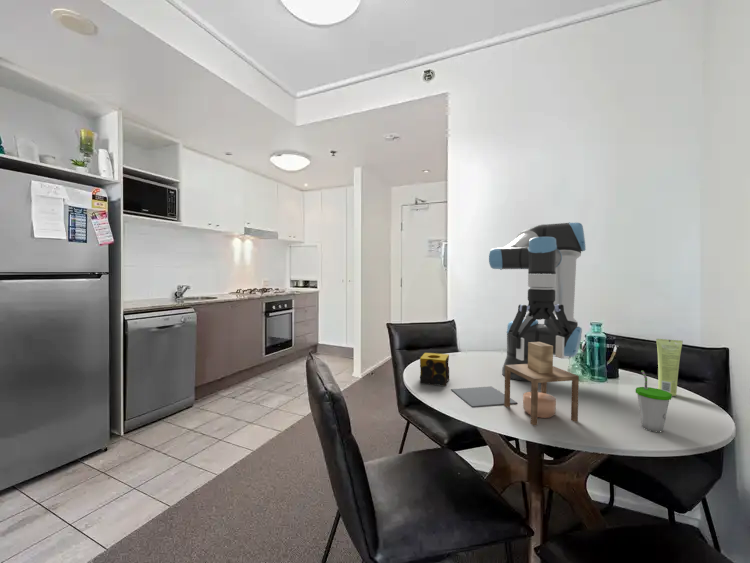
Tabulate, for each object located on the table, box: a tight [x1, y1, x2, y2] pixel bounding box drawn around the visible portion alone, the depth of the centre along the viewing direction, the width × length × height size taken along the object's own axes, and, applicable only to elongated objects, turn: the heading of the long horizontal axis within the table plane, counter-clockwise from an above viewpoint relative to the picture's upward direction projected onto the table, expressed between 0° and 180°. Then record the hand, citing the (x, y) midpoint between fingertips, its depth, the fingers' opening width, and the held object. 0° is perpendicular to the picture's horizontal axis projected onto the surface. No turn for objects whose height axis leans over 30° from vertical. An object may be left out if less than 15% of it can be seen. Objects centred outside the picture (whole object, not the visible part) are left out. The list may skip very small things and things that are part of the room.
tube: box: [655, 338, 683, 397], centre depth 122 cm, size 6×5×20 cm
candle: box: [419, 352, 450, 387], centre depth 135 cm, size 10×10×10 cm
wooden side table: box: [504, 342, 580, 426], centre depth 104 cm, size 14×14×21 cm
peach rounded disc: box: [522, 391, 557, 419], centre depth 105 cm, size 9×9×5 cm
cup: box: [635, 370, 673, 433], centre depth 95 cm, size 8×8×15 cm
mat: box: [450, 386, 518, 408], centre depth 118 cm, size 16×16×1 cm
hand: (540, 358), depth 104 cm, fingers open, 13 cm apart
